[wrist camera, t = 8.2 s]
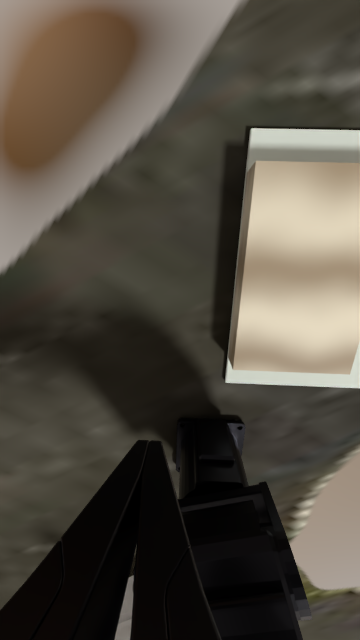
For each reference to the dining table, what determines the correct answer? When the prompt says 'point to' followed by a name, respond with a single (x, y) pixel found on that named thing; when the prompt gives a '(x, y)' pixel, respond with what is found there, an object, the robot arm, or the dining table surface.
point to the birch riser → (298, 269)
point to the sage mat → (261, 148)
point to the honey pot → (126, 613)
